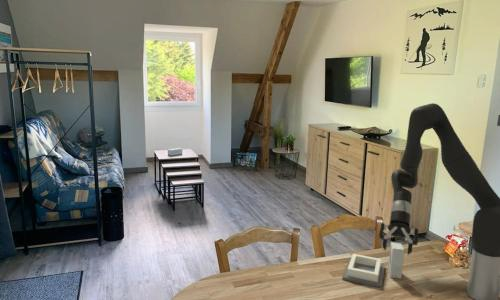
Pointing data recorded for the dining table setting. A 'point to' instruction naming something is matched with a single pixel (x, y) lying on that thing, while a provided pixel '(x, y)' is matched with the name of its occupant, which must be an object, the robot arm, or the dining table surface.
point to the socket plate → (364, 270)
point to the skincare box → (396, 260)
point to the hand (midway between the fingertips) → (396, 251)
